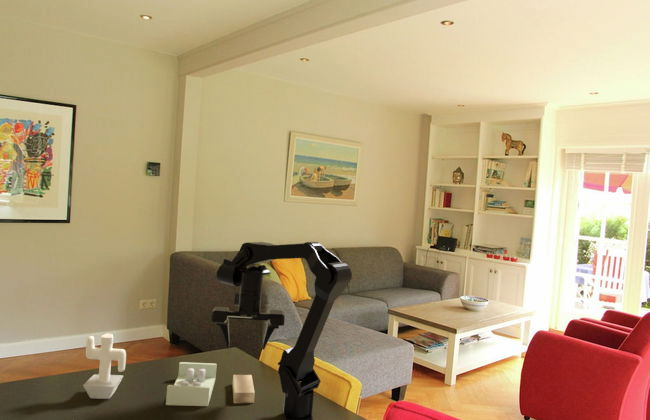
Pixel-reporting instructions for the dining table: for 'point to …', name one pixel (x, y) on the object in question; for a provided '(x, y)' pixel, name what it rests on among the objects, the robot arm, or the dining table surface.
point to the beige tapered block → (243, 389)
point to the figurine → (104, 367)
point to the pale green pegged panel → (192, 385)
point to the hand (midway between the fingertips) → (245, 348)
